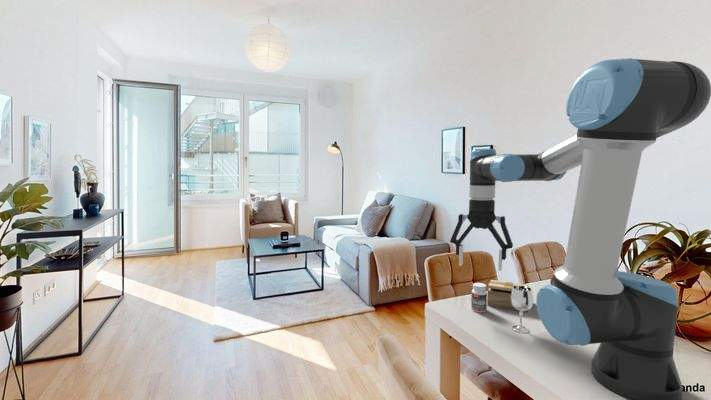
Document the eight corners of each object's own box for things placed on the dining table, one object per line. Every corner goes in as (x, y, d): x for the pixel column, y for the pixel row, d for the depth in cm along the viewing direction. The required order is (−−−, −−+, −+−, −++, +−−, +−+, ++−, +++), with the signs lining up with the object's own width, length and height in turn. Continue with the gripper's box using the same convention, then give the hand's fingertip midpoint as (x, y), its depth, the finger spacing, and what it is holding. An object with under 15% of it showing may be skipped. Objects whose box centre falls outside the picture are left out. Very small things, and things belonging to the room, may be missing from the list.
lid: (528, 293, 111) (528, 290, 111) (487, 287, 116) (487, 285, 116) (528, 286, 120) (528, 284, 120) (491, 281, 125) (491, 279, 125)
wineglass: (505, 328, 100) (507, 287, 99) (515, 323, 104) (516, 283, 102) (526, 336, 96) (527, 293, 94) (535, 329, 99) (537, 288, 98)
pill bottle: (471, 311, 112) (471, 286, 111) (470, 306, 116) (471, 281, 115) (487, 313, 110) (487, 287, 109) (486, 307, 115) (486, 283, 114)
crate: (527, 311, 111) (528, 296, 111) (487, 305, 117) (487, 290, 116) (527, 301, 120) (528, 286, 120) (490, 295, 126) (491, 281, 125)
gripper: (524, 199, 108) (521, 268, 110) (446, 196, 118) (445, 259, 120) (523, 201, 101) (520, 275, 103) (441, 198, 112) (440, 265, 114)
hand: (480, 267), depth 112 cm, fingers open, 11 cm apart
